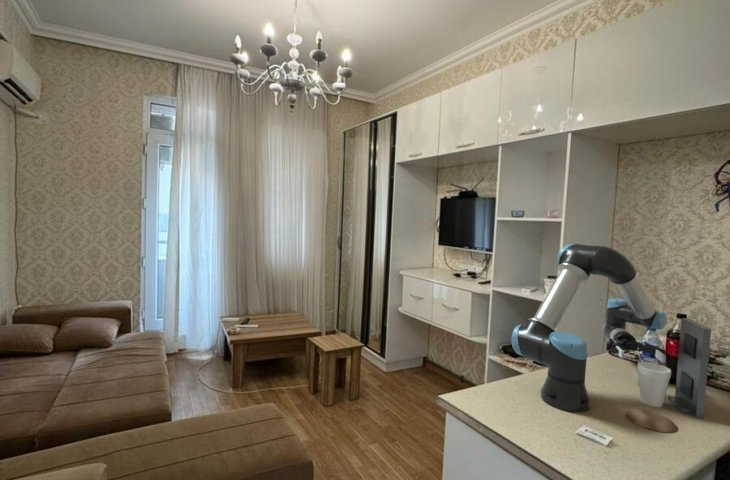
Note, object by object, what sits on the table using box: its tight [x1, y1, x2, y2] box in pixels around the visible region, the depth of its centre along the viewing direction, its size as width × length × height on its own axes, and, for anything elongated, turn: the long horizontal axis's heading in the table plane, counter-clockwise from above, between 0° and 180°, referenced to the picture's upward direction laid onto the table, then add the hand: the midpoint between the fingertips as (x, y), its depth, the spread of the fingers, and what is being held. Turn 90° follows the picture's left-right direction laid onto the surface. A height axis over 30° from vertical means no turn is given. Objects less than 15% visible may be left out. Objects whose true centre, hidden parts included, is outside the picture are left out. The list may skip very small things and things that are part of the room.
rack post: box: [667, 317, 712, 419], centre depth 130 cm, size 5×14×30 cm, turn 163°
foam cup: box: [636, 361, 672, 408], centre depth 134 cm, size 10×9×13 cm
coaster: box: [625, 408, 677, 433], centre depth 121 cm, size 13×13×1 cm
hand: (643, 357), depth 143 cm, fingers open, 13 cm apart
